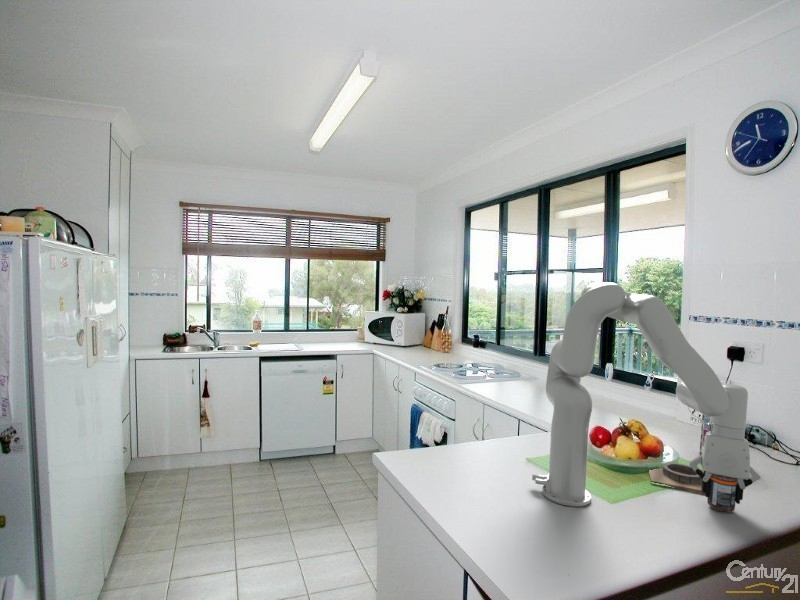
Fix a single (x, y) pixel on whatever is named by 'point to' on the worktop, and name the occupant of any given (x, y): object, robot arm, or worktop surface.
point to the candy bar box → (703, 430)
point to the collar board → (674, 483)
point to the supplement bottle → (722, 493)
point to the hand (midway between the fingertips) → (721, 497)
